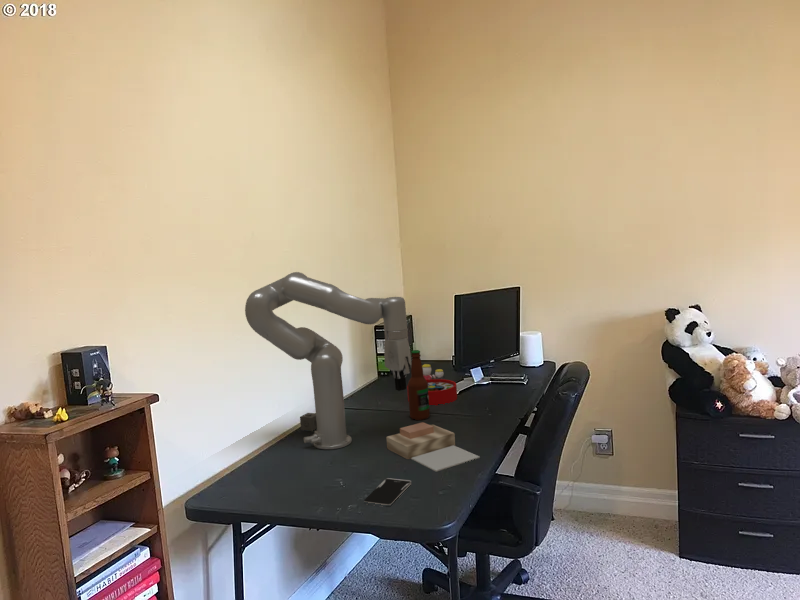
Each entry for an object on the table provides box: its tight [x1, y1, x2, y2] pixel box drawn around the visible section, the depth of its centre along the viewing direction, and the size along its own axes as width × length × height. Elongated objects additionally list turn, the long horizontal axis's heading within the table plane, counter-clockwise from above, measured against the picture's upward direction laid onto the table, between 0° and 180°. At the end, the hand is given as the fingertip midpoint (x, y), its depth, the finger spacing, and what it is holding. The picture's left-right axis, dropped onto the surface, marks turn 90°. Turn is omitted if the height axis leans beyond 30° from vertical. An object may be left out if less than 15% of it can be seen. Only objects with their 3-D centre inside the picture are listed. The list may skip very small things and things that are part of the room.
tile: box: [399, 421, 434, 439], centre depth 200 cm, size 9×6×2 cm, turn 122°
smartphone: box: [363, 477, 412, 505], centre depth 166 cm, size 8×1×15 cm
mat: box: [411, 445, 481, 473], centre depth 188 cm, size 16×13×1 cm
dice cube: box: [299, 412, 317, 432], centre depth 225 cm, size 5×5×5 cm
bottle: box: [407, 349, 431, 421], centre depth 229 cm, size 7×7×25 cm
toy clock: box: [406, 378, 458, 406], centre depth 254 cm, size 20×6×20 cm
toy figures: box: [422, 363, 446, 380], centre depth 280 cm, size 12×4×8 cm, turn 70°
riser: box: [385, 424, 456, 460], centre depth 199 cm, size 18×12×4 cm, turn 122°
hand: (400, 389), depth 206 cm, fingers closed
